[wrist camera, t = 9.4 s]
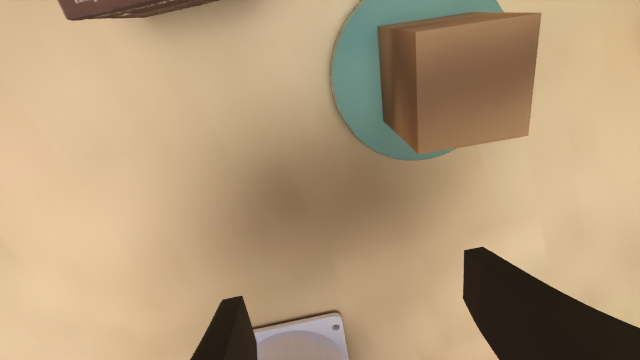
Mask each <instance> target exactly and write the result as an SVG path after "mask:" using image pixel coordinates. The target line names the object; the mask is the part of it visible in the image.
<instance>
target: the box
mask: <svg viewBox="0 0 640 360" xmlns="http://www.w3.org/2000/svg"><path fill="white" fill-rule="evenodd" d="M213 1H218V0H58V2H59V4H60V6H61V9H62V11H63V13H64V15H65V17H66V19H68V20H84V19H102V18H136V17H137V18H139V17H140V18H144V17H149V16H153V15H157V14H162V13H166V12H171V11H175V10H181V9H184V8H189V7H193V6H199V5H202V4H205V3H209V2H213Z"/></svg>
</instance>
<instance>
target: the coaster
mask: <svg viewBox="0 0 640 360" xmlns="http://www.w3.org/2000/svg"><path fill="white" fill-rule="evenodd" d="M470 12H495V13H504V12H503V10H502V9H501V7H500V5H499V4H498V2H497V1H496V0H361V1H360V2H359V3H358V4H357V5H356V6H355V7H354V9H353V10H352V11H351V13H350V14H349V15H348V17H347V18H346V20H345V22H344V23H343V25H342V27H341V29H340V31H339V33H338V36H337V38H336V41H335V44H334V48H333V51H332V57H331V64H330V81H331V89H332V94H333V98H334V101H335V104H336V106H337V109H338V110H339V112H340V114H341V116H342V118H343V119H344V121H345V122H346V124H347V125H348V126H349V128H350V129H351V131H352V132H353V133H354V134H355V136H356V137H357V138H358V139H359V140H360V141H361V142H363V143H364V144H365V145H366V146H368V147H369V148H371V149H372V150H374V151H376V152H377V153H380V154H382V155H385V156H387V157H391V158H395V159H400V160H423V159H430V158H433V157H437V156H440V155H443V154H445V153H448V152H450V151H452V150H454V149H456V148H454V149H448V150H442V151H436V152H431V153H425V154H419V155H418V154H417V153H416V152H415V151H414V150H413V149H412V148H411V147H410V146H409V145H408V144H407V143H406V142H405V141H404V140H403V139H402V138H400V137H399V136H398V135H397V134H396V133H395V132H394V131H393V130H392V129H391V128H390V127H389V126H388V125H387V124H386V123H385V122H384V121H383V112H382V96H381V80H380V64H379V48H378V32H377V26H383V25H390V24H396V23H403V22H410V21H416V20H423V19H430V18H436V17H443V16H450V15H456V14H463V13H470Z"/></svg>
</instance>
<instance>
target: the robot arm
mask: <svg viewBox="0 0 640 360" xmlns="http://www.w3.org/2000/svg"><path fill="white" fill-rule="evenodd" d="M463 299H464V301H465V303H466V305H467V307H468V309H469V311H470V313H471V315H472V317H473V319H474V321H475V323H476V325H477V327H478V328H479V330H480V332H481V333H482V335H483V336H484V338H485V339H486V341H487V342H488V344H489V345H490V347H491V348H492V350H493V351H494V353H495V354H496V356H497V357H498V358H499V360H640V328H638V327H636V326H633V325H631V324H628V323H626V322H623V321H621V320H619V319H617V318H614V317H612V316H610V315H607V314H605V313H603V312H601V311H598V310H596V309H594V308H592V307H590V306H588V305H586V304H584V303H582V302H580V301H578V300H576V299H574V298H572V297H570V296H568V295H566V294H564V293H562V292H560V291H558V290H557V289H555V288H553V287H551V286H549V285H547V284H546V283H544V282H542V281H540V280H538V279H537V278H535V277H533V276H531V275H530V274H528V273H526V272H525V271H523V270H521V269H519V268H518V267H516V266H514V265H513V264H511V263H509V262H508V261H506V260H504V259H503V258H501V257H499V256H498V255H496V254H494V253H493V252H491V251H489V250H487V249H486V248H484V247H479V248H474V249H469V250H464V284H463ZM333 325H337V326H333ZM190 360H349V358H348V352H347V346H346V340H345V334H344V328H343V323H342V318H341V315H340V314H339V313H330V314H325V315H320V316H316V317H311V318H306V319H301V320H297V321H292V322H287V323H283V324H278V325H273V326H268V327H264V328H259V329H254V330H253V328H252V325H251V322H250V319H249V316H248V312H247V309H246V306H245V303H244V300H243V297H242V296H238V297H234V298H229V299H224V300H222V302H221V303H220V305H219V307H218V309H217V311H216V313H215V315H214V317H213V319H212V321H211V323H210V325H209V327H208V329H207V330H206V332H205V334H204V336H203V338H202V340H201V342H200V343H199V345H198V347H197V349H196V350H195V352H194V354H193V356H192V358H191V359H190Z"/></svg>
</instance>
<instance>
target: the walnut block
mask: <svg viewBox="0 0 640 360" xmlns="http://www.w3.org/2000/svg"><path fill="white" fill-rule="evenodd" d="M540 19H541V13H495V12H470V13H463V14H456V15H450V16H443V17H436V18H430V19H423V20H416V21H410V22H403V23H396V24H390V25H383V26H377V32H378V48H379V64H380V80H381V96H382V112H383V121H384V122H385V123H386V124H387V125H388V126H389V127H390V128H391V129H392V130H393V131H394V132H395V133H396V134H397V135H398V136H399V137H400V138H402V139H403V140H404V141H405V142H406V143H407V144H408V145H409V146H410V147H411V148H412V149H413V150H414V151H415V152H416V153H417V154H418V155H419V154H425V153H431V152H436V151H442V150H448V149H454V148H460V147H466V146H471V145H477V144H483V143H489V142H495V141H500V140H506V139H512V138H518V137H524V136H528V132H529V122H530V113H531V104H532V94H533V85H534V76H535V66H536V57H537V47H538V38H539V29H540Z"/></svg>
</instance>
